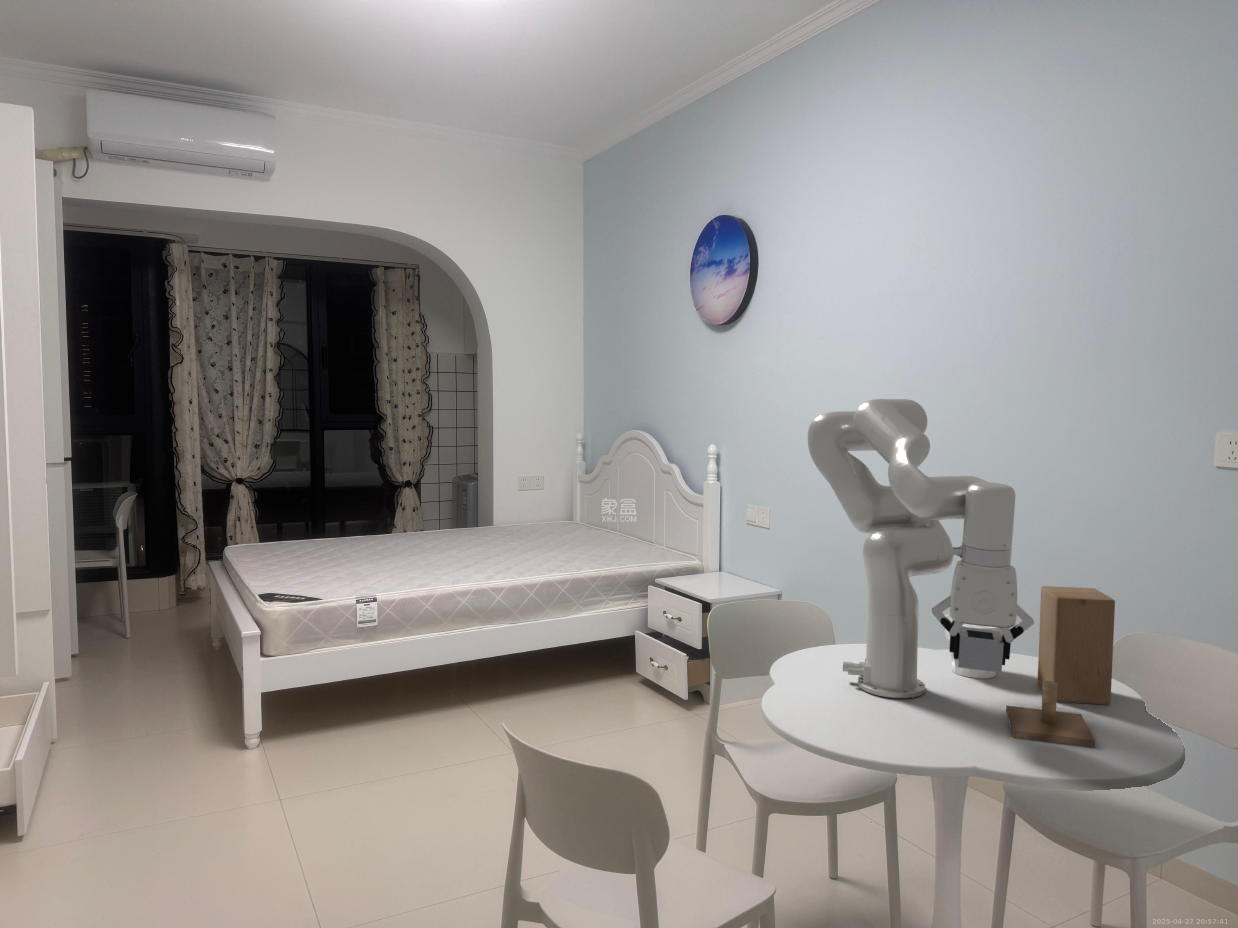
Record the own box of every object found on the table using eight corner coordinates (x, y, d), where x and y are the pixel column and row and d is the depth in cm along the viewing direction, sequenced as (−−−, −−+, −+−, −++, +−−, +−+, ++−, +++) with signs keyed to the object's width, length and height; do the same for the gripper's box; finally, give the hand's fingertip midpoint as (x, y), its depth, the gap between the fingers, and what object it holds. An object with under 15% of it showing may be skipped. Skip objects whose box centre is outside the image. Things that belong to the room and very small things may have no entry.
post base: (1013, 736, 136) (1015, 690, 135) (1006, 711, 147) (1007, 668, 147) (1095, 747, 132) (1097, 699, 131) (1080, 720, 143) (1082, 676, 143)
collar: (958, 667, 136) (960, 638, 135) (956, 654, 142) (958, 626, 141) (1001, 672, 134) (1003, 643, 133) (997, 659, 140) (999, 631, 139)
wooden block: (1111, 705, 150) (1116, 599, 149) (1052, 702, 152) (1057, 597, 151) (1091, 687, 160) (1095, 587, 158) (1036, 684, 162) (1040, 585, 160)
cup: (936, 660, 177) (937, 610, 176) (997, 664, 174) (999, 613, 173) (948, 679, 164) (949, 626, 164) (1014, 683, 162) (1016, 629, 161)
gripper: (931, 556, 135) (924, 659, 137) (1047, 566, 129) (1038, 674, 131) (930, 547, 142) (923, 645, 144) (1040, 556, 136) (1032, 659, 138)
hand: (978, 658), depth 138 cm, fingers closed on collar, 6 cm apart
